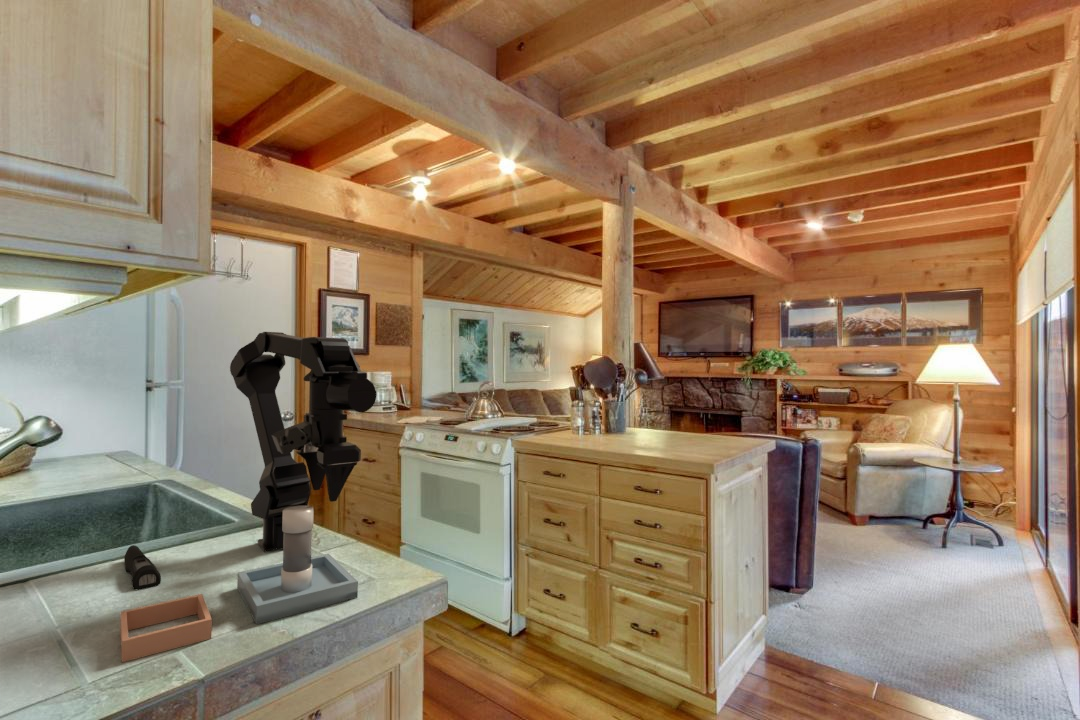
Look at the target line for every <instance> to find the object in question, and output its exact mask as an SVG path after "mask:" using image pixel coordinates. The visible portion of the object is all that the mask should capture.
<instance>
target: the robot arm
mask: <svg viewBox="0 0 1080 720" xmlns="http://www.w3.org/2000/svg"><path fill="white" fill-rule="evenodd" d="M264 353H272V354H274V355H272V354H264ZM285 357H289V358H293V359H297V360H299V363H300V365H302V366H304V367H306V368H307V369H310V371H309V373H306V374H305V376H304V377H303V382H308V383H309V392H308V393H309V397H308V398H309V399H308V412H305V414H303V421H302V422H299V423H296V424H293V425H291V426H288V427H286V428H285V425H284V421H283V417H282V412H281V408H280V405H279V401H278V397H277V394H276V389H277V387H278V385H279V382H280V380H281V373H280V372H281V371H282V370H283V368H284V367H285V366H286V359H285ZM229 372H230V374H231V377H232V379H233V381H234V383H235V386H236V388H237V389H238V390H239V391H240V392H241V393H242V394H243V395H244V396H245V397H246V398H248V399H247V400H248V401H249V405H250V409H251V410H250V411H251V413H252V419H253V422H254V426H255V430H256V433H257V438H258V443H259V447H260V451H261V455H262V456H261V457H262V459H263V463H264V468H263V470H262V473H261V477H260V479H259V482H258V484H259V491H258V492H257V494H256V496H255V497H254V498H253V500H251V501H252V502H251V503H250V509H251V515H253V516H254V517H257V518H260V519H262V521H263V522H262V538H260V539H257V544H258V545H259V546H260V548H261V550H262V551H264V552H270V551H276V550H280V549H283V538H284V532H283V531H282V518H283V510H284V509H285V508H288V507H292V506H309V501H310V496H311V492H312V489H313V491H320V490H321V488H322V484H323V483H324V479H325V478H326V479H325V480H326V488H327V495H328V501H329V502H337V500H338V498H339V497H340V494H341V492H342V490H343V488H344V486H345V484H346V483H347V480H348V479H349V477H350V475H351V473H352V471H353V470H354V468H355V466H357V465H358V462H361V461H362V460H361V459H362V457H361V456H362V449H361V448H360V447H359V446H357V445H356V444H354V443H351V442H348V441H347V436H344V421H347V419H348V413H344V411H348V412H355V413H365V412H368V411H369V410H371V408H372V407H373V406H374V405H375V403H376V401H377V395H378V394H377V393H378V392H377V390H376V388H375V385H374V383H373V382H372V381H371V380H370V379H368V372H367V371H362V370H361V366H360V364H359V363H358V361H357V359H356V357H355V355H354V352H353V350H352V348H351V346H350V345H349V341H348V340H347V339H345V338H340V337H325V336H324V337H322V336H320V337H319V336H308V337H301V336H297V335H290V334H287V333H284V332H279V331H262V332H259V333H258V334H257V335H256V337H255V338H254V340H252V341H250V342H249V343H248V344H246V345H244V346H242V347H241V348H240V349H238V351H237V352H236V354H235V356H234V357H233V359H232V360H231V362H230V365H229ZM294 450H296V451H295V452H296V455H299V456H300V458H302V459H303V460H304V461H305V462H297V461H296V459H294V458H293V456H292V452H293V451H294ZM305 463H306V464H305Z"/></svg>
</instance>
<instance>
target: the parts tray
mask: <svg viewBox="0 0 1080 720" xmlns="http://www.w3.org/2000/svg"><path fill="white" fill-rule="evenodd" d="M311 564H312V586H311V587H310V588H308V589H306V590H304V591H300V592H293V593H289V592H284V591H282V590H281V569H282V567H283V562H282V563H276V564H272V565H268V566H267V565H266V566H263V567H262V566H261V567H258V568H253V569H249V570H242V571H239V572H237V578H236V579H237V581H236V582H237V583H236V584H237V585H236V586H237V591H238V593H239V594H240V596H241V597H242V600H243V602H244V604H245V606H246V607H247V609H248V611H249V613H250V615H251V617H252V619H253V620H254V623H255V624H256V625H259V624H262V623H267V622H270V621H274V620H278V619H281V618H286V617H289V616H292V615H297V614H299V613H304V612H307V611H308V612H309V611H311V610H316V609H319V608H324V607H328V606H331V605H334V604H339V603H342V602H345V601H344V600H346V601H349V600H348V599H350V600H354V599H357V598H358V596H359V595H358V591H359V581H358V580H357V579H356V578H355V577H354V576H353V575H352V574H351V573H350V572H349V571H348V570H347V569H346V568H344V567H343V566H342V565H341V563H339V561H337V560H336V559H335V558H334V557H333V556H332V555H331V554H330V553H326V554H319V555H316V556H311ZM353 598H354V599H353ZM341 601H342V602H341ZM338 602H339V603H338Z"/></svg>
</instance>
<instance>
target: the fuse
mask: <svg viewBox="0 0 1080 720" xmlns="http://www.w3.org/2000/svg"><path fill="white" fill-rule="evenodd" d="M314 517H315V516H314V507H313V506H311V505H307V506H292V507H288V508H285V509H284V510H283V518H282V531H283V532H284V538H283V548H282V549H283V550H282V563H283V567H282V569H281V590H282V591H284V592H289V593H293V592H300V591H304V590H306V589H308V588H310V587H311V586H312V564H311V557H312V542H313V541H312V534H313V530H312V529H314Z"/></svg>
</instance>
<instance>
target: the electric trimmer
mask: <svg viewBox="0 0 1080 720" xmlns="http://www.w3.org/2000/svg"><path fill="white" fill-rule="evenodd" d="M123 561H124V571H125V572H126V573H127V574H128V573H130V574H131V576H132V579H131V585H132V589H133V590H136V591H141V590H146V589H150V588H154V587H157V586H159V585H160V584H161V582H162V575H161V573H160V571H159V570H158V568H157V567H156V566H155V564H154V563H153V562H152V561H151V560H150V559H149V558H148V557H147V556H146V555H145V554H144V553H143V551H142V550H141V549H140V548H139V547H138V546H137V545H135V544H134V545H130V546H128V548H127V549H126V552H125V555H124V560H123Z"/></svg>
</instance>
